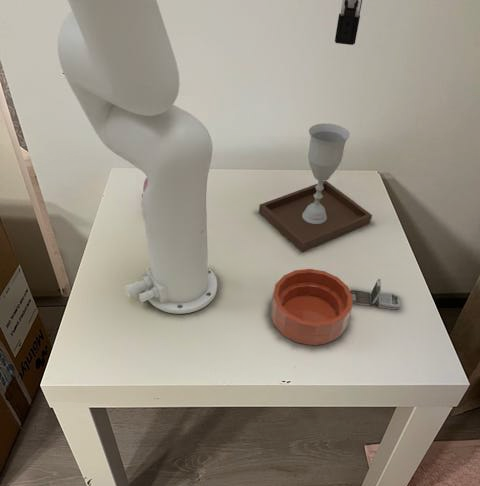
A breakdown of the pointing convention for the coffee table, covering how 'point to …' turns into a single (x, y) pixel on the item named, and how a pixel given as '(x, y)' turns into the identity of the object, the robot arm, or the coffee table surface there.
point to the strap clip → (376, 297)
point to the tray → (308, 234)
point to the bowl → (311, 306)
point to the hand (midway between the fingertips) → (346, 33)
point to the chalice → (324, 163)
